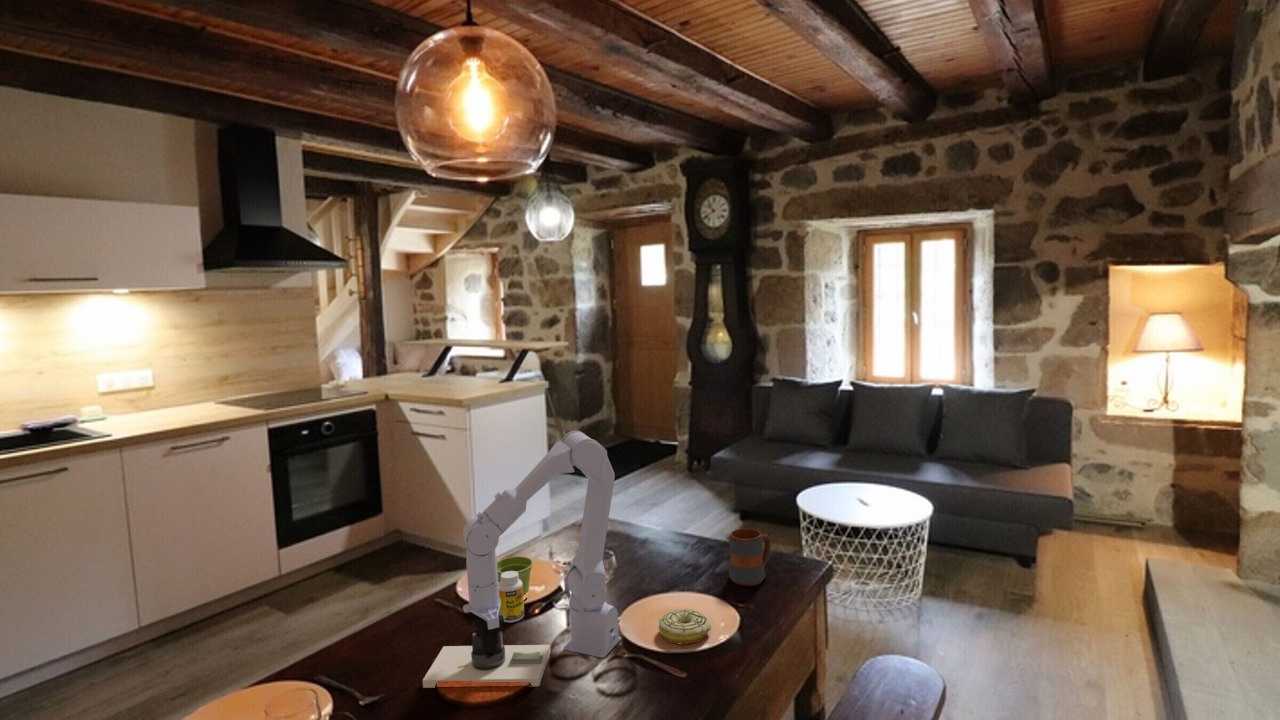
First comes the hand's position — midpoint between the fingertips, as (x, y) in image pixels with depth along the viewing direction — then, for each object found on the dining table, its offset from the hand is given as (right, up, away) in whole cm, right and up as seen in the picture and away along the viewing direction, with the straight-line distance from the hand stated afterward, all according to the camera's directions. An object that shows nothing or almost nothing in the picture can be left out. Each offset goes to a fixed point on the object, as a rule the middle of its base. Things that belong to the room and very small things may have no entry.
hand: (487, 647), depth 134 cm
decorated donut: (+39, -2, +11) cm, 41 cm away
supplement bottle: (+1, -2, +21) cm, 21 cm away
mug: (+58, +2, +36) cm, 68 cm away
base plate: (0, -4, +1) cm, 4 cm away
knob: (0, -3, 0) cm, 3 cm away
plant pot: (0, -1, +30) cm, 30 cm away
